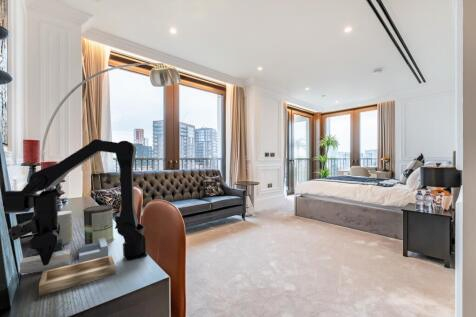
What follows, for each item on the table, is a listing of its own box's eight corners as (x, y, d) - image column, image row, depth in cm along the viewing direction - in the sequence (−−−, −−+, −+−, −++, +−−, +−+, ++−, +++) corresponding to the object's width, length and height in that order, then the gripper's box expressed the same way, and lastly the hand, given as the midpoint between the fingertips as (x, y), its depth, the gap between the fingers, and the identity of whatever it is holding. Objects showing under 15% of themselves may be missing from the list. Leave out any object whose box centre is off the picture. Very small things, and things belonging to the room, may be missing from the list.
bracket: (105, 249, 86) (104, 237, 86) (108, 258, 77) (107, 245, 77) (79, 255, 81) (78, 242, 81) (79, 266, 73) (79, 251, 73)
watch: (62, 245, 91) (61, 217, 91) (62, 251, 85) (61, 222, 85) (43, 249, 88) (42, 220, 88) (42, 256, 81) (41, 225, 81)
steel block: (71, 261, 77) (71, 249, 77) (70, 265, 74) (69, 253, 74) (23, 271, 71) (23, 258, 71) (20, 276, 68) (19, 263, 68)
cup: (69, 244, 92) (68, 214, 92) (44, 247, 90) (43, 216, 89) (75, 237, 100) (74, 210, 100) (52, 240, 97) (51, 212, 97)
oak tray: (111, 263, 74) (111, 255, 74) (115, 274, 67) (115, 265, 67) (43, 280, 64) (42, 271, 64) (39, 296, 57) (38, 285, 57)
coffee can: (78, 247, 89) (77, 211, 89) (93, 238, 99) (92, 205, 99) (106, 245, 89) (105, 209, 89) (118, 236, 100) (117, 204, 100)
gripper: (16, 209, 75) (18, 256, 75) (2, 221, 60) (3, 281, 60) (59, 204, 82) (61, 248, 82) (56, 214, 66) (58, 268, 66)
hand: (47, 259), depth 72 cm, fingers open, 9 cm apart
